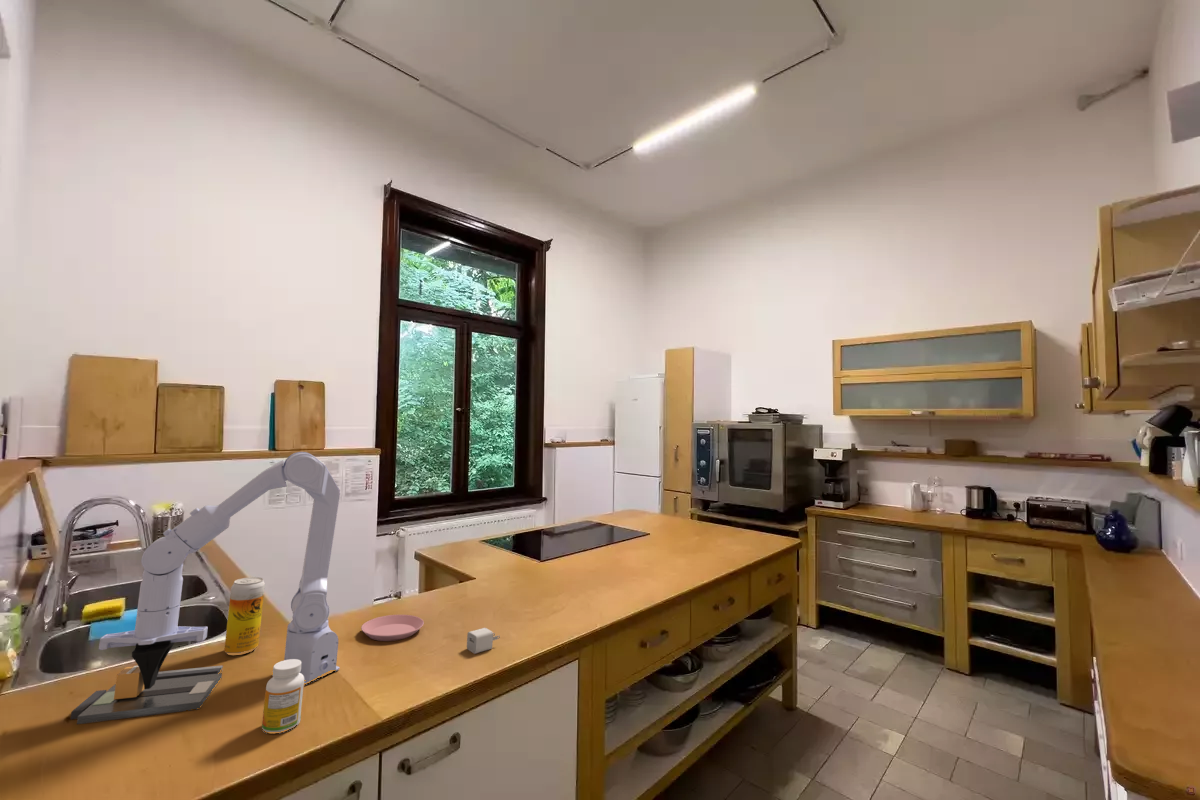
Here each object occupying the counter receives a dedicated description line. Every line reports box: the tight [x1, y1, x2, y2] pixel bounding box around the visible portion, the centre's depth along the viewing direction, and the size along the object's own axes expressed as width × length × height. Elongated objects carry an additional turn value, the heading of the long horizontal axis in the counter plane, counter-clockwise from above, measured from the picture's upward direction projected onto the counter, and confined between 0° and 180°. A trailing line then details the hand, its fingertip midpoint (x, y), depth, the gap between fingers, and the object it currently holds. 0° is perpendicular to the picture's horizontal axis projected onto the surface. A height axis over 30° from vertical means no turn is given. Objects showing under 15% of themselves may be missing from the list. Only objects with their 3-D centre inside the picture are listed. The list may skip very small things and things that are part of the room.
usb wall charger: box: [466, 627, 501, 655], centre depth 115 cm, size 4×7×4 cm, turn 135°
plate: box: [360, 614, 425, 642], centre depth 122 cm, size 14×14×2 cm
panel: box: [76, 672, 223, 725], centre depth 87 cm, size 16×11×1 cm
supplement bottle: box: [261, 659, 305, 732], centre depth 81 cm, size 5×5×10 cm
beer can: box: [223, 576, 266, 654], centre depth 108 cm, size 6×6×15 cm
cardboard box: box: [114, 665, 144, 699], centre depth 86 cm, size 3×3×4 cm
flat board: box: [70, 665, 224, 720], centre depth 89 cm, size 17×13×1 cm
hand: (149, 686), depth 87 cm, fingers closed
